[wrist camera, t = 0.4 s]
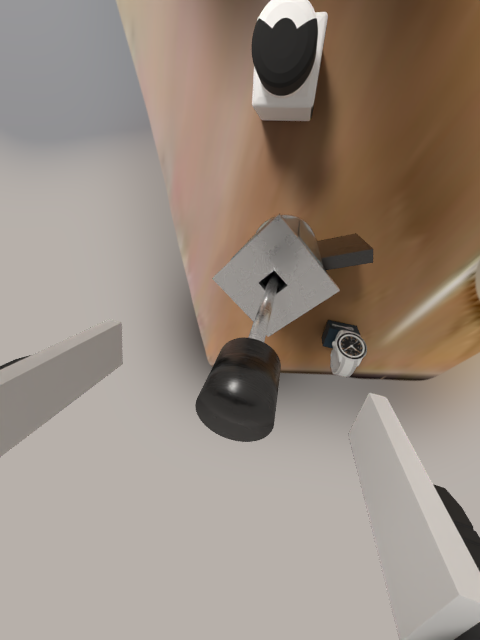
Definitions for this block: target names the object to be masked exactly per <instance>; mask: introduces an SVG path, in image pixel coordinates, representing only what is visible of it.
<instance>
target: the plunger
mask: <svg viewBox="0 0 480 640" xmlns="http://www.w3.org/2000/svg"><path fill="white" fill-rule="evenodd" d="M261 282H262V283H263V284H264V285H265V286H266V289H265V292H264V295H263V298H262V301H261V303H260V306H259V309H258V312H257V315H256V318H255V320H254V323H253V326H252V329H251V332H250V334H249V337H248V338H237V339H234V340H231V341H229V342H228V343H226V344H225V345H224V346H223V348H222V349H221V351H220V353H219V355H218V357H217V359H216V361H215V363H214V365H213V367H212V370H211V372H210V374H209V376H208V378H207V380H206V382H205V384H204V386H203V388H202V390H201V392H200V394H199V396H198V398H197V400H196V412H197V414H198V416H199V418H200V419H201V421H202V422H203V423H204V424H205V425H206V426H207V427H208V428H209V429H210V430H212V431H213V432H215V433H216V434H218V435H220V436H223V437H225V438H228V439H231V440H235V441H242V442H250V441H257V440H260V439H262V438H264V437H266V436H267V435H269V433H270V432H271V431H272V429H273V426H274V419H275V411H276V402H277V394H278V385H279V377H280V369H281V364H280V360H279V357H278V355H277V354H276V352H275V351H274V350H273V349H272V348H271V347H270V346H268V345H267V344H266V343H264V340H265V336H266V332H267V328H268V324H269V320H270V316H271V312H272V308H273V303H274V299H275V295H276V291H278V290H279V289H280V288H282V287H283V286H284V285H286V283H285V282H284V281H283V280H282V279H281V277H280V276H279V275H278V274H277V273H276V272H275V270H273V271H272V272H271V273H270V274H268V275H267V276H266V277H265V278H264V279H262V280H261Z"/></svg>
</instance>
